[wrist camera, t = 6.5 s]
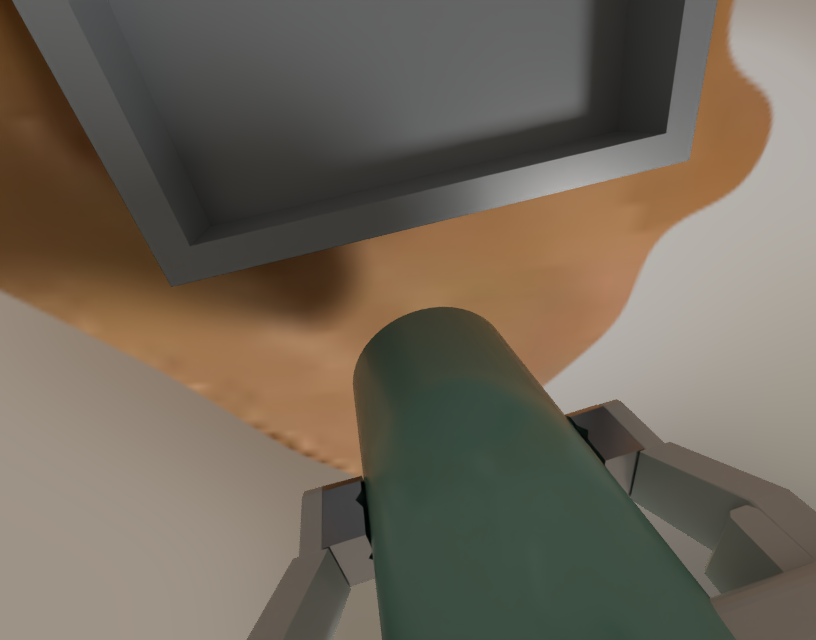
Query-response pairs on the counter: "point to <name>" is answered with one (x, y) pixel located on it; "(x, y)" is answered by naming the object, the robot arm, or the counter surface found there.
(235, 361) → the counter surface
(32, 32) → the tray
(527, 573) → the green rounded cylinder
